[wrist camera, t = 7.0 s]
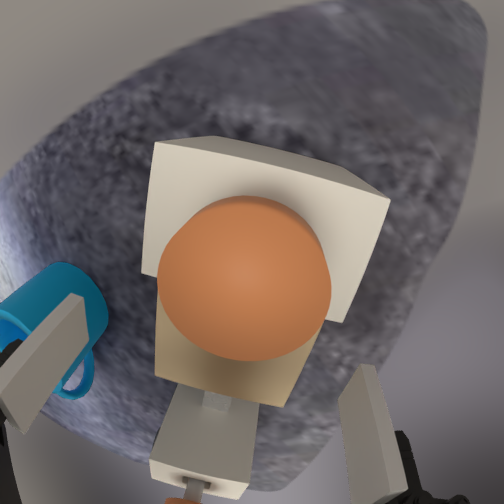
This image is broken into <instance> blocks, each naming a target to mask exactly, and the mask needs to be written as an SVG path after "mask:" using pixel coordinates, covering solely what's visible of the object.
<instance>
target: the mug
mask: <svg viewBox="0 0 504 504" xmlns="http://www.w3.org/2000/svg"><path fill="white" fill-rule="evenodd" d="M71 293H73V294H76V295H78V296H81V297H84V305H85V314H86V322H87V329H88V336H89V341H88V343H87V344H86V345H85V347H84V348H83V349H82V351H81V352H80V353H79V355H78V356H77V358H76V359H75V360H74V362H73V363H72V364H71V366H70V367H69V369H68V370H67V371H66V373H65V374H64V376H63V377H62V379H61V380H60V381H59V383H58V384H57V386H56V387H55V389H54V390H53V392H52V393H56V394H58V395H59V396H61V397H62V398H66V399H72V400H75V399H78V398H81V397H83V396H84V395H85V394H86V393H87V392H88V391H89V389H90V387H91V385H92V382H93V377H94V357H93V352H92V347H93V346H94V344H95V343H96V342H97V340H98V339H99V338H100V336H101V335H102V334H103V333H104V331H105V329H106V327H107V325H108V316H109V314H108V310H107V306H106V302H105V300H104V298H103V296H102V294H101V292H100V290H99V288H98V287H97V286H96V285H95V283H94V282H93V281H92V279H91V278H90V277H89V276H88V275H86V274H85V273H84V272H83V271H82V270H81V269H79V268H77V267H75V266H73V265H71V264H69V263H64V262H56V263H53V264H51V265H49V266H48V267H46V268H45V269H44V270H42V271H41V272H40V273H38V274H37V275H36V276H34V277H33V278H32V279H30V280H29V281H28V282H26V283H25V284H24V285H23V286H21V287H20V288H19V289H17V290H16V291H15V292H14V293H12V294H11V295H10V296H9V297H8V298H6V299H5V300H4V301H3V302H1V303H0V351H1V353H2V350H3V349H4V348H5V347H6V346H7V345H8V344H9V343H11V342H13V341H14V340H16V339H18V338H19V339H20V340H22V341H25V340H26V338H27V337H28V336H29V335H30V334H31V333H32V332H33V331H34V330H35V329H36V328H37V327H38V326H39V325H40V324H41V323H42V321H43V320H44V319H45V318H46V317H47V316H48V315H49V314H50V313H51V312H52V311H53V310H54V309H55V308H56V307H57V306H58V305H59V304H60V303H61V302H62V301H63V300H64V299H65V298H66V297H67V296H68V295H69V294H71ZM83 359H84V373H83V378H82V380H81V382H80V385H79V386H78V387H77V388H76V389H74V390H71V391H69V390H64V389H63V386H64V385H65V383H66V382H67V381H68V379H69V378H70V377H71V375H72V374H73V372H74V371H75V370H76V368H77V367H78V366H79V364H80V363H81V361H82V360H83Z"/></svg>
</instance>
